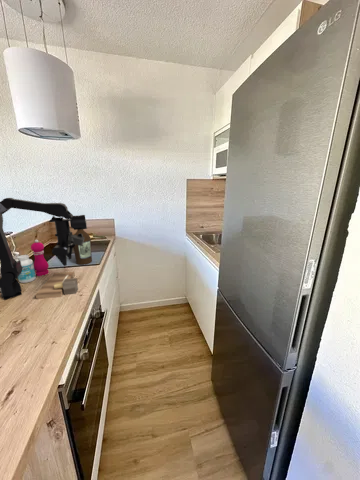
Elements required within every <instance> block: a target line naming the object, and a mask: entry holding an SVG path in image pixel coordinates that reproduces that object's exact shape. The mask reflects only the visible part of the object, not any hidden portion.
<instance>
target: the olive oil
mask: <svg viewBox="0 0 360 480" xmlns="http://www.w3.org/2000/svg"><path fill="white" fill-rule="evenodd" d="M79 233H81V234H83V237H84V242H83V244H82V246H79V245H77V244H76V245H75V246H74V247H73V252H74V257H75V263H76V264H77V265H79V266H82V265H84V264H85V265H88V264H89V265H90V264H91V263H92V262H93V255H92V241H91V240H92V239H91V236H90V234H89V233H87V232H86V231H85V229H80V230H76V232H75V233H74V234H73V235H78V234H79Z"/></svg>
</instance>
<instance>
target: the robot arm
mask: <svg viewBox="0 0 360 480" xmlns="http://www.w3.org/2000/svg"><path fill="white" fill-rule="evenodd" d="M11 209H19V210H25V211H31V212H32V211H33V212H41V213H45V214H48V215H50V216H51V219H50V220H49V223H54V226H55V234H54V236H55V237H56V240H57V242H56V245H55V246H53V248H52V249H51V254H52V255H53V256H55V257H56V258H57V259H58V260H59V262H60V263H61V264H62V265H63V266H65V267H67V263H68V260H72V258H73V257H72V255H73V251H74V248H73V247H74V246H75V245H76V244H77V245H79V246H82V244H83V242H84V237H83V234H81V233H79V234H78V235H74V234H73V232H72V231H71V229H73V230H74V231H77V230H80V229H83V230H87V229H88V227H87V225H88V224H87V220H86V215H85V214H79V215H73V214H72V213H71V211H69V210H68V206H67V205H66V204H65V203H64V202H63V203H62V202H50V203H49V202H48V203H47V202H37V201H31V200H30V201H29V200H25V199H17V198H13V197H6V198H3V199H2V200H1V201H0V277H1V278H0V297H1V298H2V299H3V300H4V301H6V300H9V299H12V298H15V297H18V296H21V295H23V293H22V292H23V291H22V287H21V286H22V285H21V283H20V282H19V280H18V276H19V275H20V274H21V272H22V269H23V267H22V266H21V262H20V261H18V260H16V259H15V258H14V256H13V252H12V251H11V247H10V245H9V242H8V240H7V239H8V238H7V237H6V233H5V231H4V228H3V227H4V226H3V225H4V218H3V215H4V214H5V213H6V212H8V211H9V210H11Z"/></svg>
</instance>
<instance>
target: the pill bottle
mask: <svg viewBox="0 0 360 480" xmlns="http://www.w3.org/2000/svg"><path fill="white" fill-rule="evenodd" d="M17 261H20V262H21V266H22V267H23V269H22V272H21V274H20V275H19V276H18V278H17V281H18V282H19V283H20V284H26V283H32V282H34V281H35V280H36V277H37V276H36V274H35V272H36V271H35V270H34V261H33V259H32V258H30V256H29V254H22V255H18V256H17Z"/></svg>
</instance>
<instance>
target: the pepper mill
mask: <svg viewBox="0 0 360 480" xmlns="http://www.w3.org/2000/svg"><path fill="white" fill-rule="evenodd" d="M30 249H31V251H32V254H33V256H34V261H33V264H34V270H35V275H37V276H36V277H43V276H42V275H44V276H47V275H48V274H49V273H50V271H49V267H50V266H49V262H48V261H47V260H46V259H45V256H44V253H45V251H44V249H45V245H44V244H43V242H39V240H38V239H35V240H34V242H33V243H32V244H30ZM46 274H47V275H46Z"/></svg>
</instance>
